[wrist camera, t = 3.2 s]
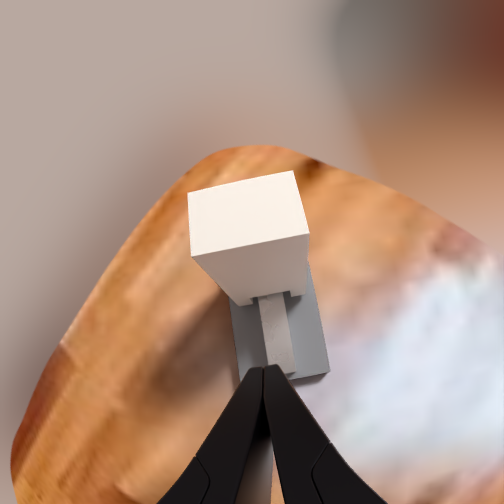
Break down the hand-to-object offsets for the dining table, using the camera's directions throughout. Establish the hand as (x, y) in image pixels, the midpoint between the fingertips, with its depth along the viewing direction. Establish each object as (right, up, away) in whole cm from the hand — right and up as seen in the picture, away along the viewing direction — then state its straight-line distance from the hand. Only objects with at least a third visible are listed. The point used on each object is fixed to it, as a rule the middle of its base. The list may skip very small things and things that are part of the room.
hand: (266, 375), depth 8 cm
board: (+1, +1, +14) cm, 14 cm away
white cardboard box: (+1, +2, +13) cm, 13 cm away
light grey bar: (+1, +1, +14) cm, 14 cm away
